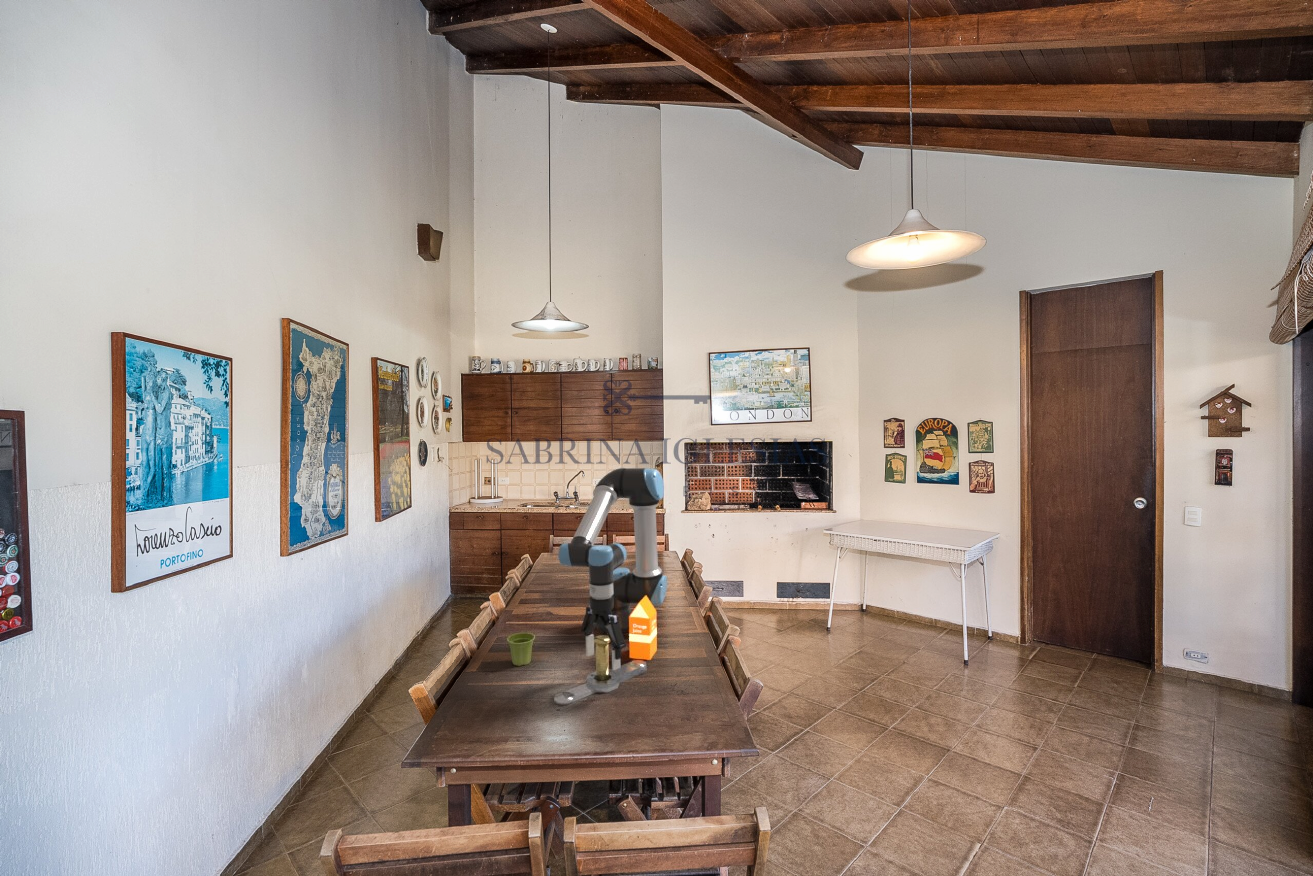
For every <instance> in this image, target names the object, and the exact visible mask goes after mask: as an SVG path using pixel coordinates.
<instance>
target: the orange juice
mask: <svg viewBox="0 0 1313 876" xmlns="http://www.w3.org/2000/svg"><path fill="white" fill-rule="evenodd" d="M631 613H632V614H631V615H630V616H629V633H628V636H629V637H628V639H629V640H628V641H629V643H628V644H629V659H636V660H648V661H651V660H652V658H653V657H654V655H655V654H656V652H657V649H658V648H657V646H658V643H657V641H658V640H657V639H658V638H657V637H658V636H657V635H658V630H657V629H658V628H657V626H658V625H657V610H656V609H655V607H654V605H652V604H651V602H650V601H649V599H648V598H647V596H645V597H644V598H643V599H642V600H641V601H640V602H639V603H638V604H636V606H635V608H634V609H633V611H631Z"/></svg>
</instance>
